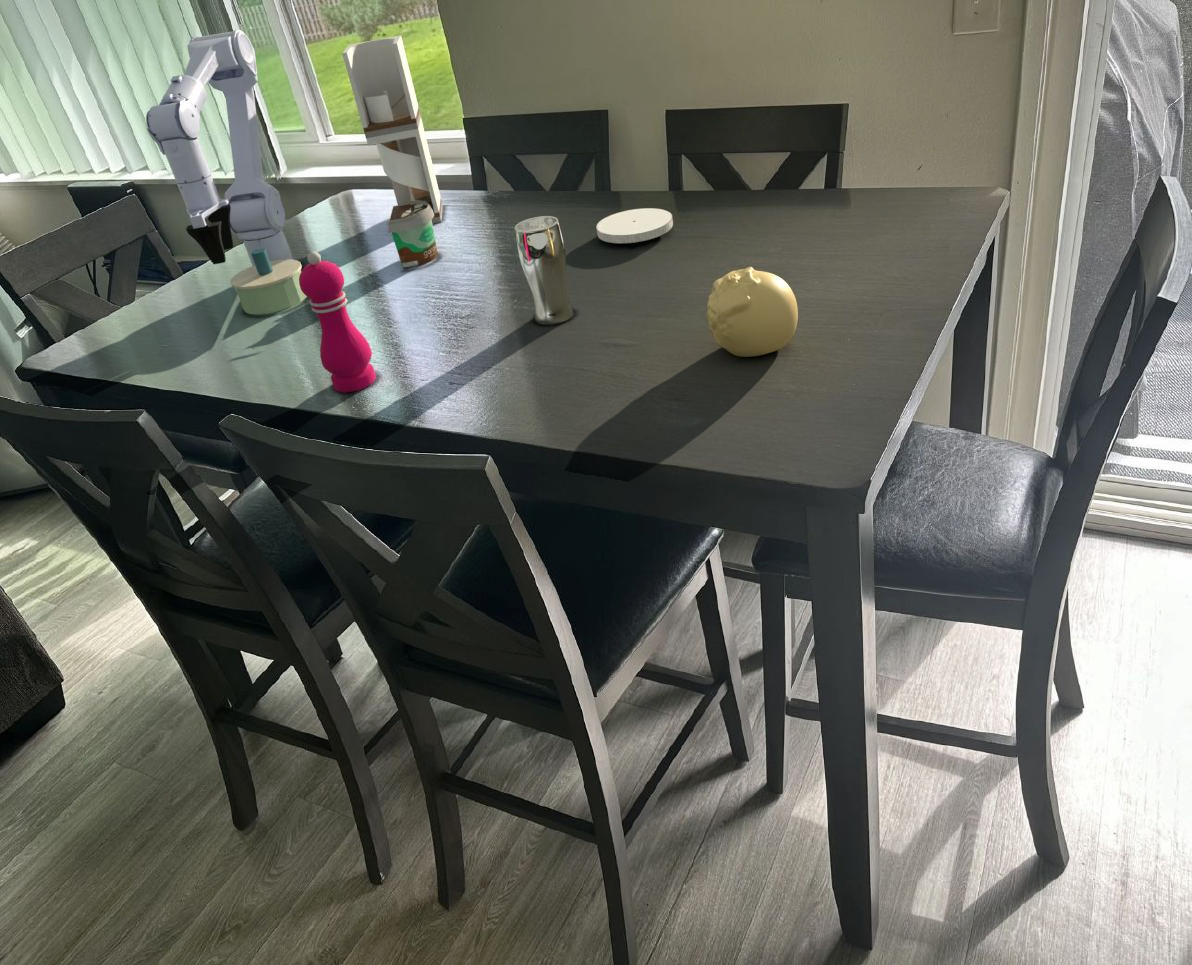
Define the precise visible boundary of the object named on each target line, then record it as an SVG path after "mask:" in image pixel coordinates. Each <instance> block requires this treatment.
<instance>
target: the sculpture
mask: <svg viewBox="0 0 1192 965" xmlns="http://www.w3.org/2000/svg"><path fill="white" fill-rule="evenodd" d="M707 298H708V302H707V312H706V320H707V322H708V323H709V325H708V331H709V332H710V333H712V335H713V339H714V341H715V343H717V345H718V346H719V347H720V348H723V349H724V350H726V351H727V352H729V353H730V354H731V355H734V356H736V357H742V358H747V357H748V358H750V357H758V356H759V357H760V356H763V355H766V354H770V353H773V352H776V351H779V350H780V349H782V348H784V347H786V346H787V345H788V344H789V343H790V342H791V340H792V338H793V337H794V335H795V332H796V329H797V326H798V319H799V309H798V308H799V307H798V303H797V299H796V296H795V294H794V292H793V290H792V288H791V286H790V285H789V284H788V283H787V281H785V280H784V279H783V278H781V277H780V276H778V275H776V274H774V273H771V272H768V271H762V270H756V269H754V268H753V267H752V266H748V267H746V268H742V269H737V270H732V271H730V272H728V273H726V274H725V275H723V277H721V278H718V279H716V280H715V281H714V282H713V283H712V288H711V294H709V295H708V297H707Z"/></svg>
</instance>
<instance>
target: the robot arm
mask: <svg viewBox="0 0 1192 965" xmlns="http://www.w3.org/2000/svg"><path fill="white" fill-rule="evenodd" d="M186 47H187V52H188V57H189V60H188V63H187V65H186V68H185V71H184V73H183V74H179V75H173V76H172V77H171V79H170V84H169V86H168V88H167V90H166V92H165V93H164V94H163V96H162V98H161V100H160V101H159V104H158V105H152V106H151V107H150V108H149V110H148V111H147V112H146V115H145V122H146V127H147V128H146V130H147V133H148V134H149V136H150V138H151V139H152V140H153V141H154V142H155V143H156V145H157V147H158V149H159V152H160V153H161V154H162V155H164V156H165V157H166V160H167V163H168V164H169V168H170V169H171V173H172V175H173V177H174V180H175V182H176V185H177V187H178V190H179V192H180V195H181V197H182V200H183V203H184V205H185V211H186V214H187V215H188V217H189V221H190V223H191V224H190V225H187V226H186V228H185V231H186V233H187V234H188V235H189V236H190V237H191V238H192V239H193V240H195V241H196V242H197V244H198V245H199V246H200V248H201V249H202V250H203V251H204V253H205V254H206V256H207V257H208V259H209V261H210V262H211V263H212V264H213V265H219V264H223V263H226V262H227V258H226V252H225V251H226V250H227V251H228V250H231V249H233V248H234V241H233V235H236V236H237V238H238V240H242V242H243V244H244V247H245V250H246V252H247V255H248V258H249V260H250V263H251V267H252V266H255V263H254V261H253V258H252V255H251V252H252V251H254V250H257V249H265V250H266V252H267V255H268V258H269V261H274V260H282V259H292V260H294V259H293V255H292V252H291V249H290V246H289V244H288V241H287V238H286V236H285V233H284V232H283V230H282V229H283V228H284V226H285V223H286V212H285V209H284V205H283V203H282V199H281V194H280V191H279V190H277V188H275V187H274V186H273V185H272V184H270V183H268V182H267V181H265V180H264V171H263V162H262V154H261V145H260V144H261V143H260V136H259V126H258V125H259V124H258V119H257V118H258V117H257V107H256V99H255V90H254V87H255V86H256V84H257V83H258V81H259V80H258V79H259V78H258V68H257V59H256V58H257V57H256V52H255V48H254V46H253V45H252V42H251V40H250V38H249V36H247V34H246V33H245V32H244V31H243V30H241V29H234V30H233V31H227V32H221V33H215V34H209V35H202V36H197V35H196V36H192V37H191V38H190V40H189V43H188V44H187V46H186ZM208 84H209V86H211V87H212V89H214V90H216V91H219V92H222V94H224V96H225V104H226V105H225V106H226V113H227V114H226V115H227V122H228V132H229V140H230V147H231V148H230V149H231V157H232V163H233V164H232V166H233V175H234V182H233V183H232V184H231V185H230V186H229V187H228V189H227V190H226V191H225V192H224V198H221V196H220V194H219V192H218V190H217V186H216V184H215V181H214V178H213V175H212V173H211V171H210V170H211V169H210V168H209V165H208V163H207V160H206V157H205V154H204V152H203V149H202V146H201V144H200V141H199V138H198V136H199V135H200V132H201V131H200V130H201V127H200V126H201V124H200V120H201V115H200V113H201V111H202V110H203V108H204V106H205V104H206V101H207V98H208V93H207V90H206V86H207V85H208ZM232 234H233V235H232Z"/></svg>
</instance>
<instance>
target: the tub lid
mask: <svg viewBox="0 0 1192 965" xmlns="http://www.w3.org/2000/svg"><path fill="white" fill-rule="evenodd" d="M251 255H252V258H253V261H254V263H255V266H252V265H251V266H250V267H247V268H244V269H243V270H241V271H239V272H237V273H236V274H235V275H233V276H232V277H231V279H230V285H231V287H232V288H234V289H235V288H237V289H255V288H261V287H266V286H270V285H273V284H276V283H279V282H282V281H284V280H286V279H289V278H291V277H292V276H294V275H295V274H297V273H298V272H299V271H300V270H301V271H302V266H303V265H302V264H301V261H299V260H297V259H293V260H292V259H282V260H274V261H269V258H268V255H267V252H266V250H265V249H257V250H254V251H252V252H251Z"/></svg>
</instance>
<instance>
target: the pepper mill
mask: <svg viewBox="0 0 1192 965" xmlns="http://www.w3.org/2000/svg"><path fill="white" fill-rule="evenodd" d="M307 261H308V263H309V264H307V265H305V266H304V268H303V269H301V273H300V276H299V285H300V288H301V290H302V292H303V293H304V294H305V295H306V296H307V297H306V298H308V299H309V305H310V306H311V311H313V313H316V316H317V318H318V321H319V324H320V327H321V340H320V348H319V357H320V361H321V364H322V367H323V369H325V371H327V372H329V373H330V374H331V375H330V381H331V383H332V386H333V389H334V390H335V391H336V392H339V393H353V392H358V391H360V390H363V389H365V388H367V387H369V386H372V384H373V383H374V382H375V380H376V379H377V374H376V371H375V369H374V365H372V364H371V363H370V362H371V359H372V355H373V351H372V349H371V346H370V344H369V341H368V340H367V339H366V338H365V336H364V335H363V334H362V333H361V331H359V329H358V328H357V327H356V326H355V324H354V323H353V321H352V320H351V318H350V316H349V313H348V311H347V306H346V305H347V304H348V299H347V298H346V292H345V291H343V288H344V285H345V277H344V274H343V272H342V270H341V269H340V267H339V266H337V264H336V263H333V262H331V261H328V260H322V256H321V254H320V253H319V252H317V251H311V252H309V253H308V255H307Z"/></svg>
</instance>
